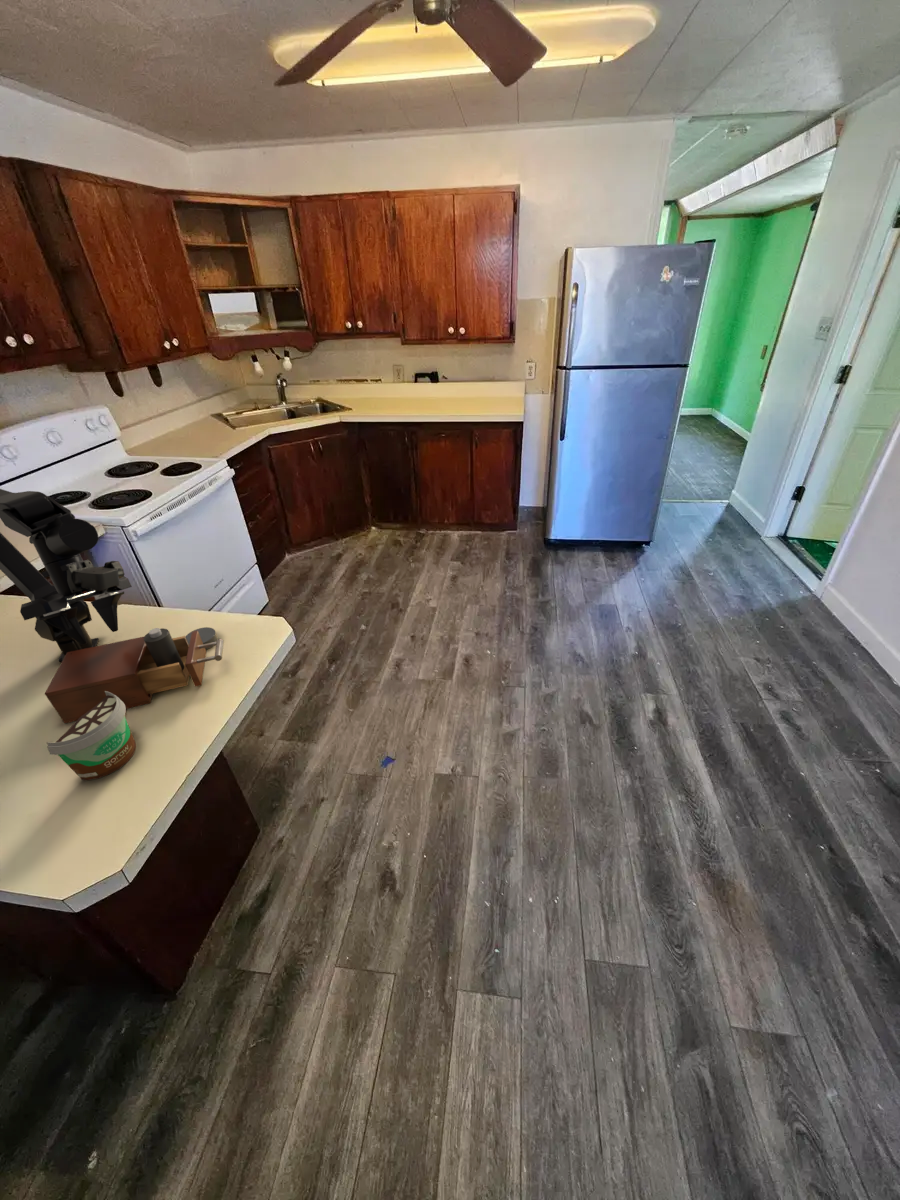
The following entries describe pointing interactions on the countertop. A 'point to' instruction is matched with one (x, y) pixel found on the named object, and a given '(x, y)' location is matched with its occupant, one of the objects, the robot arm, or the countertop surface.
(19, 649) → the countertop surface
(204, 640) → the disc
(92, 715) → the food container
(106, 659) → the cabinet
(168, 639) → the pepper mill
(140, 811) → the countertop surface
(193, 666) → the drawer
